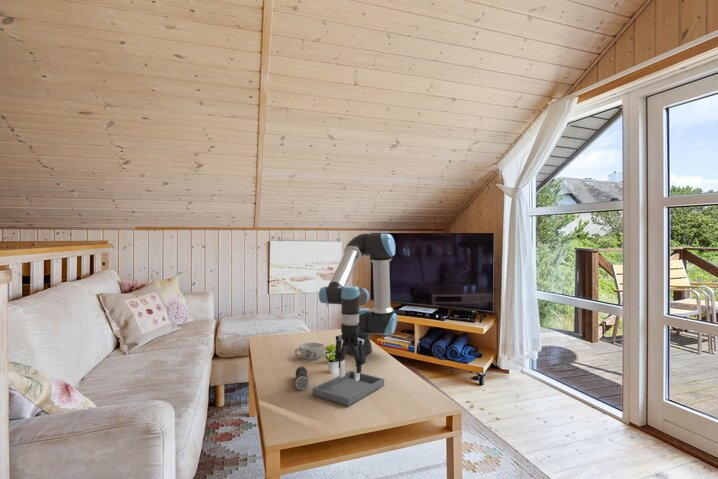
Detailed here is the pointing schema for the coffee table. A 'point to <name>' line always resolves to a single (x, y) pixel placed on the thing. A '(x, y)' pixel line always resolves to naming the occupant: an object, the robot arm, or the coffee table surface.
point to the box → (348, 388)
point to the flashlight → (300, 374)
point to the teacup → (310, 350)
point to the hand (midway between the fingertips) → (349, 378)
